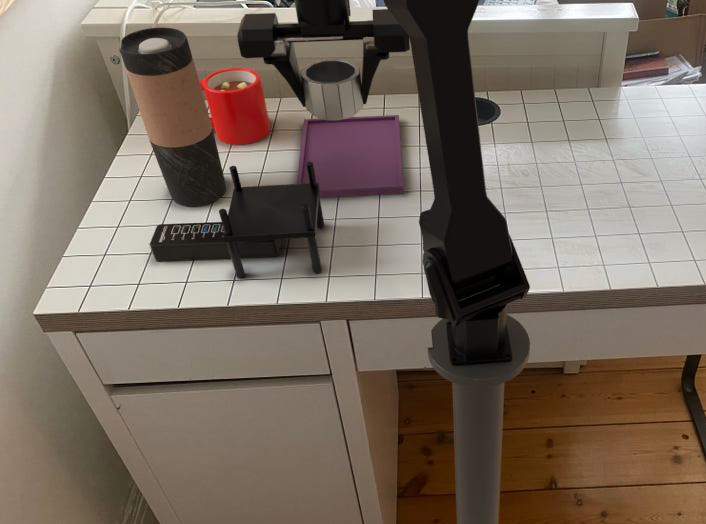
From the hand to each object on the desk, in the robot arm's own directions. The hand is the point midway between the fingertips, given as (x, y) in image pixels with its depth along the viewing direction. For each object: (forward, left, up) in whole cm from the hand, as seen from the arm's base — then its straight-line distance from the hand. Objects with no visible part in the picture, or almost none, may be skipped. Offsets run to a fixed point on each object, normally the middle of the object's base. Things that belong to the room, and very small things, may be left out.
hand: (335, 104), depth 91 cm
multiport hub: (-11, +15, -13) cm, 22 cm away
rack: (-12, +8, -12) cm, 19 cm away
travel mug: (+2, +20, -13) cm, 23 cm away
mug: (+18, +18, -13) cm, 28 cm away
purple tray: (+9, 0, -12) cm, 15 cm away
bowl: (0, 0, -1) cm, 0 cm away
